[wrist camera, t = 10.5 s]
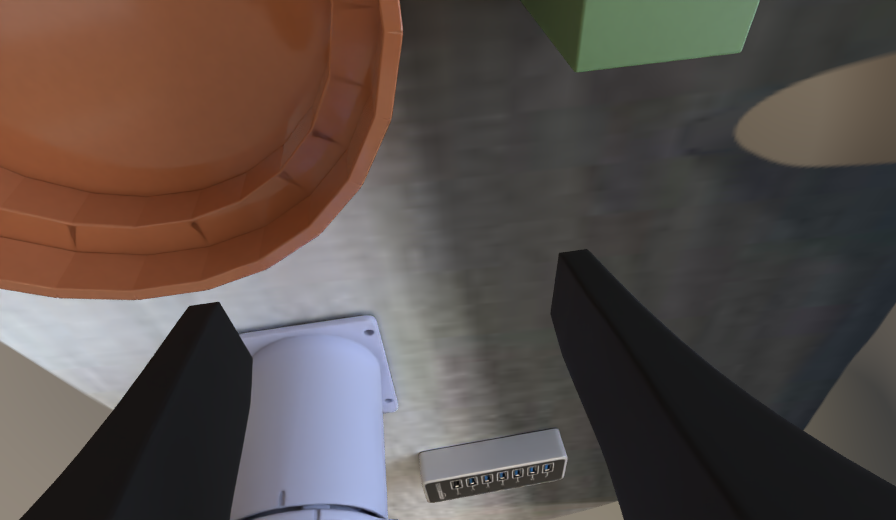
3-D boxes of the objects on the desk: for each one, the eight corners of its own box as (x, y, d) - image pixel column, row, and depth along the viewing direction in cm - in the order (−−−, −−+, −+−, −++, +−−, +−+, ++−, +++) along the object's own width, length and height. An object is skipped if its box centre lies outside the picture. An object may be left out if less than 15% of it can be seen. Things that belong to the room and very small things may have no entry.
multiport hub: (555, 451, 41) (563, 479, 39) (424, 475, 40) (428, 504, 39) (559, 427, 38) (568, 456, 36) (417, 452, 37) (421, 483, 36)
